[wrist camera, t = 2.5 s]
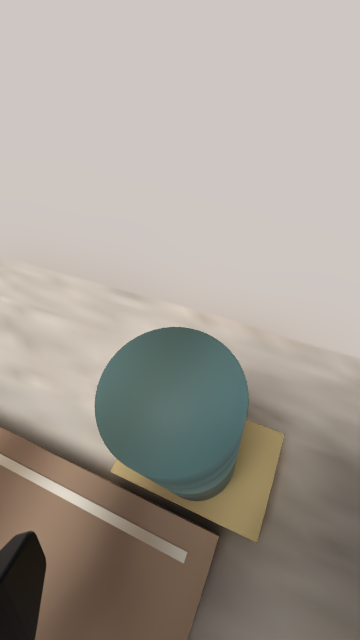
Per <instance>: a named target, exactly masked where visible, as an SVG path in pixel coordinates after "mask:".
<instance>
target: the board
mask: <svg viewBox="0 0 360 640" xmlns="http://www.w3.org/2000/svg"><path fill="white" fill-rule="evenodd" d="M27 531H34V532H35V533H36V535H37V537H38V540H39V542H40V545H41V547H42V549H43V552H44V554H45V557H46V573H45V579H44V586H43V592H42V599H41V605H40V612H39V618H38V624H37V631H36V637H35V640H188V637H189V634H190V631H191V627H192V624H193V621H194V618H195V614H196V611H197V608H198V604H199V601H200V598H201V595H202V591H203V588H204V585H205V581H206V578H207V575H208V572H209V568H210V565H211V562H212V558H213V555H214V552H215V549H216V545H217V542H218V539H219V535H218V534H216V533H214V532H212V531H210V530H208V529H206V528H204V527H202V526H200V525H198V524H196V523H194V522H192V521H190V520H188V519H186V518H184V517H182V516H180V515H178V514H176V513H174V512H172V511H170V510H168V509H166V508H164V507H162V506H160V505H158V504H156V503H154V502H152V501H150V500H148V499H146V498H144V497H142V496H140V495H138V494H136V493H134V492H131V491H129V490H127V489H125V488H123V487H121V486H119V485H117V484H115V483H113V482H111V481H109V480H107V479H105V478H103V477H101V476H99V475H97V474H95V473H93V472H91V471H89V470H87V469H85V468H83V467H81V466H79V465H77V464H75V463H73V462H71V461H69V460H67V459H65V458H63V457H61V456H59V455H57V454H55V453H53V452H51V451H49V450H47V449H45V448H43V447H41V446H39V445H37V444H35V443H33V442H31V441H29V440H27V439H24V438H22V437H20V436H18V435H16V434H14V433H12V432H10V431H8V430H6V429H4V428H2V427H0V550H1V549H2V548H3V547H4V546H5V545H6V544H7V543H8V542H9V541H10V540H11V539H12V538H13V537H14V536H15V535H17V534H20V533H23V532H27Z"/></svg>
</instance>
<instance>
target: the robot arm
mask: <svg viewBox="0 0 360 640" xmlns="http://www.w3.org/2000/svg"><path fill="white" fill-rule="evenodd" d="M45 573H46V557H45V554H44V552H43V549H42V547H41V545H40V542H39V540H38V537H37V535H36V533H35V532H34V531H27V532H23V533H20V534H17V535H15V536H14V537H13V538H12V539H11V540H10V541H9V542H8V543H7V544H6V545H5V546H4V547H3V548H2V549H1V550H0V640H35V637H36V631H37V624H38V618H39V612H40V605H41V599H42V592H43V586H44V579H45Z"/></svg>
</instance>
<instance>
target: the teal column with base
mask: <svg viewBox="0 0 360 640" xmlns="http://www.w3.org/2000/svg"><path fill="white" fill-rule="evenodd" d="M248 403H249V399H248V387H247V382H246V378H245V375H244V372H243V370H242V368H241V366H240V364H239V362H238V361H237V359H236V358H235V356H234V355H233V354H232V353H231V351H230V350H229V349H228V348H227V347H226V346H225V345H223V344H222V343H221V342H220V341H218V340H217V339H215V338H214V337H212V336H210V335H208V334H206V333H203V332H201V331H198V330H194V329H190V328H183V327H169V328H161V329H157V330H153V331H150V332H147V333H144V334H142V335H140V336H138V337H136V338H135V339H133V340H131V341H130V342H128V343H127V344H126V345H125V346H123V347H122V348H121V349H120V350H119V351H118V352H117V353H116V354H115V355H114V356H113V358H112V359H111V360H110V361H109V363H108V365H107V366H106V368H105V369H104V372H103V374H102V376H101V378H100V381H99V384H98V387H97V391H96V397H95V417H96V422H97V426H98V429H99V432H100V435H101V437H102V439H103V441H104V443H105V445H106V446H107V448H108V449H109V450H110V452H111V453H112V454H113V455H114V456H115V457H116V458H117V459H116V461H115V463H114V465H113V467H112V469H111V471H110V472H112V473H114V474H116V475H118V476H120V477H122V478H124V479H126V480H128V481H130V482H132V483H135V484H137V485H139V486H141V487H143V488H145V489H147V490H149V491H151V492H153V493H155V494H157V495H159V496H161V497H163V498H165V499H167V500H170V501H172V502H174V503H176V504H178V505H180V506H182V507H184V508H186V509H188V510H190V511H192V512H194V513H196V514H198V515H200V516H202V517H205V518H207V519H209V520H211V521H213V522H215V523H217V524H219V525H221V526H223V527H225V528H227V529H229V530H231V531H233V532H235V533H237V534H240V535H242V536H244V537H246V538H248V539H250V540H252V541H254V542H256V543H257V541H258V537H259V534H260V530H261V526H262V522H263V518H264V514H265V510H266V506H267V502H268V498H269V494H270V491H271V487H272V483H273V479H274V475H275V471H276V467H277V463H278V459H279V455H280V451H281V448H282V444H283V440H284V436H285V434H283V433H280V432H278V431H275V430H272V429H270V428H267V427H264V426H262V425H259V424H256V423H254V422H251V421H248V420H246V416H247V412H248Z"/></svg>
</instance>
